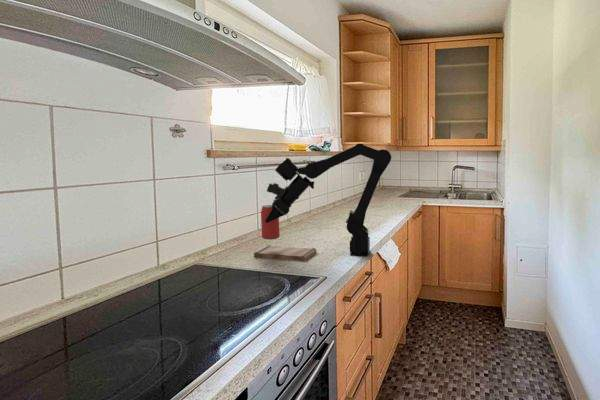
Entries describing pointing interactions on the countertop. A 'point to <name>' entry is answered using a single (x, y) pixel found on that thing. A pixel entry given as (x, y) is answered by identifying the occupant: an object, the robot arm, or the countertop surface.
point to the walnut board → (285, 253)
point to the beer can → (269, 224)
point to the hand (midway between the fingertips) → (266, 220)
